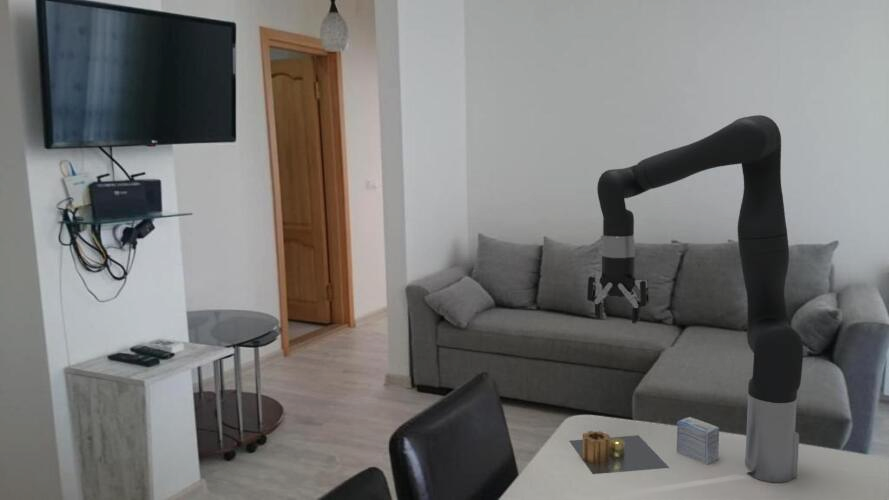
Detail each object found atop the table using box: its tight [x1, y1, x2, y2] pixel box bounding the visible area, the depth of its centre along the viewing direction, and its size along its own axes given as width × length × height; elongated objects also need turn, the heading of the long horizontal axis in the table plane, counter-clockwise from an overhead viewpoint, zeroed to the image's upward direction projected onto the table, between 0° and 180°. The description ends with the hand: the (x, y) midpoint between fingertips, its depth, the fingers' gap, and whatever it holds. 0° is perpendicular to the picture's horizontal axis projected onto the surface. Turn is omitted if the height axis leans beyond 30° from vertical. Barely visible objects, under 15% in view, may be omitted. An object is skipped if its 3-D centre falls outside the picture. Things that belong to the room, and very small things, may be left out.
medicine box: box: [676, 416, 720, 465], centre depth 155 cm, size 8×4×9 cm, turn 34°
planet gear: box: [582, 430, 611, 464], centre depth 155 cm, size 6×6×5 cm
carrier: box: [569, 434, 670, 475], centre depth 157 cm, size 17×17×5 cm
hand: (617, 320), depth 168 cm, fingers open, 8 cm apart
